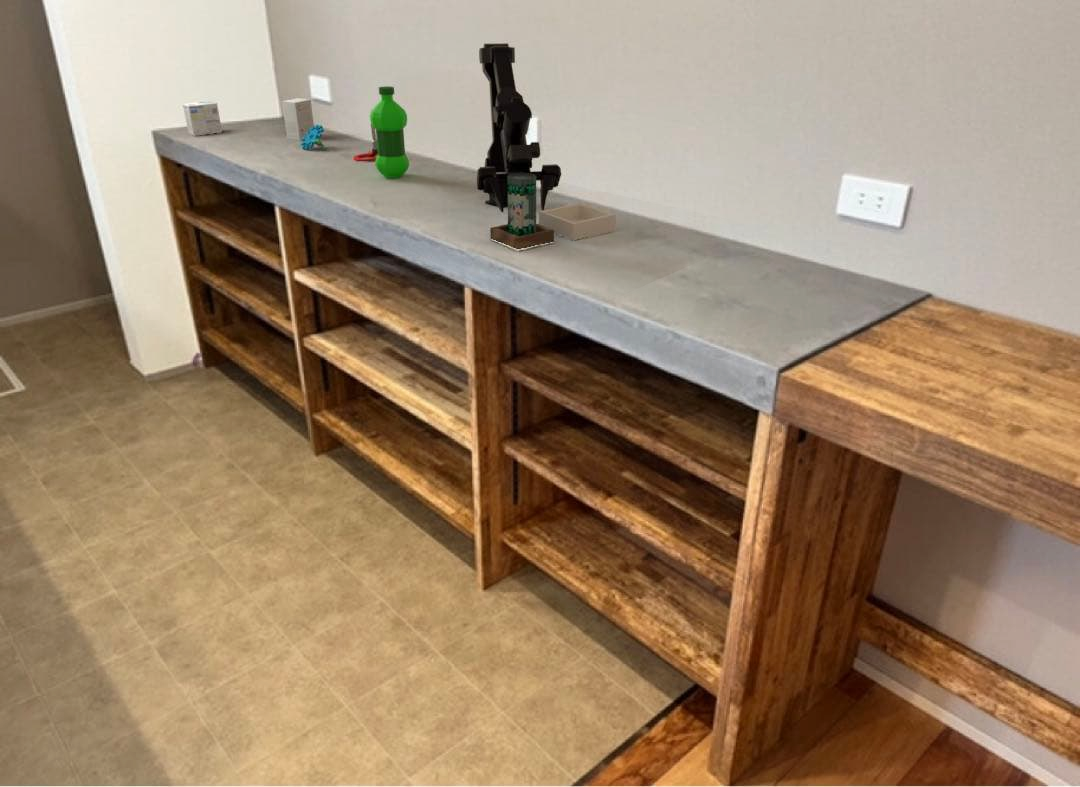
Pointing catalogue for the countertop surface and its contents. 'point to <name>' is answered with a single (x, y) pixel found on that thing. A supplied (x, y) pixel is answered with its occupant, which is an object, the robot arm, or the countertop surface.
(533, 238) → the holder
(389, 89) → the plastic bottle
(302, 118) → the small box
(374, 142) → the tow hook
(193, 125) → the light bulb box
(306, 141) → the blue flower bunch
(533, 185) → the can
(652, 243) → the countertop surface
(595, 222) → the bin
